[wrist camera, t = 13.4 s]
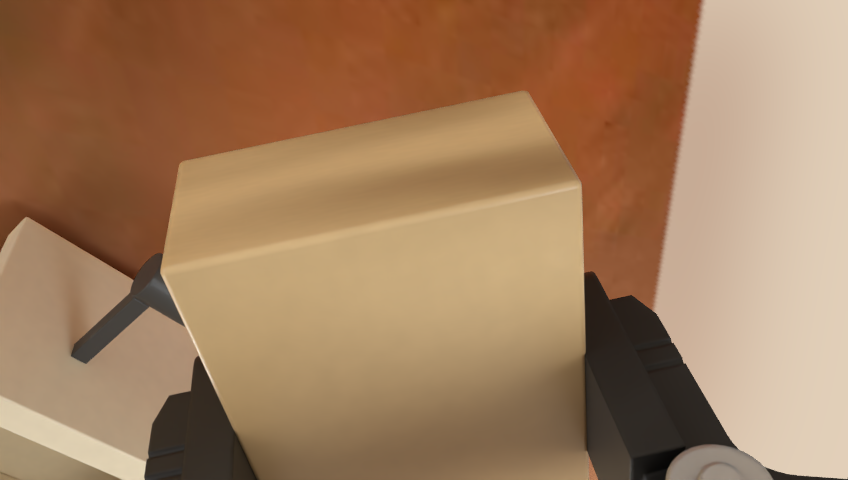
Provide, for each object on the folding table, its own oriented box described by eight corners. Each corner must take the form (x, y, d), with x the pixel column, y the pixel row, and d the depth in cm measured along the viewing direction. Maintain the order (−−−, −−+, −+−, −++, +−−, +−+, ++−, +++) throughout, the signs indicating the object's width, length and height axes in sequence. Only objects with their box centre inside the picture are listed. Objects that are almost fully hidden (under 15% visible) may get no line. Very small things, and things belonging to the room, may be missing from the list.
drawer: (110, 127, 27) (58, 273, 20) (367, 307, 33) (387, 459, 27) (-149, 399, 32) (-253, 578, 26) (115, 506, 39) (83, 671, 33)
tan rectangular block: (176, 159, 11) (156, 271, 9) (527, 86, 11) (584, 182, 9) (311, 492, 16) (317, 613, 14) (552, 439, 16) (592, 550, 14)
